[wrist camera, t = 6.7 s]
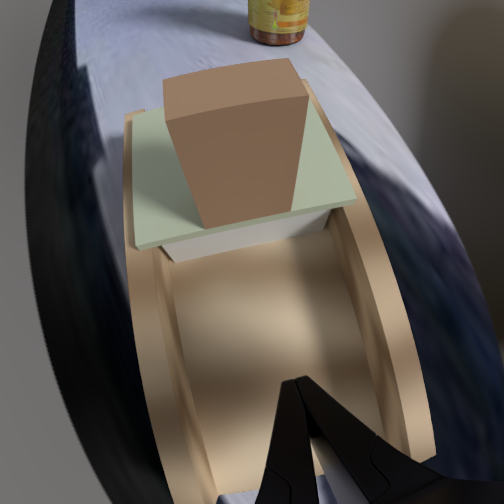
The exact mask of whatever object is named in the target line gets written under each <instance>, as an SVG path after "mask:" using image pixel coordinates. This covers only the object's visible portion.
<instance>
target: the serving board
mask: <svg viewBox="0 0 504 504" xmlns="http://www.w3.org/2000/svg"><path fill="white" fill-rule="evenodd" d="M301 81H302V83H303V85H304V86H305V88H306V90H307V92H308V94H309V98H310V100H311V101H312V103H313V105H314V107H315V109H316V111H317V113H318V115H319V117H320V119H321V121H322V123H323V125H324V127H325V129H326V131H327V133H328V135H329V137H330V139H331V141H332V143H333V145H334V147H335V150H336V152H337V154H338V156H339V158H340V160H341V163H342V165H343V167H344V169H345V171H346V174H347V176H348V178H349V181H350V183H351V185H352V188H353V190H354V192H355V195H356V197H357V200H356V202H355V203H354V205H348V206H343V207H338V208H333V209H331V211H330V214H329V216H328V218H327V221H326V223H325V226H324V228H323V230H322V231H318V232H314V233H309V234H304V235H300V236H295V237H291V238H286V239H281V240H277V241H272V242H268V243H263V244H258V245H254V246H249V247H245V248H240V249H236V250H231V251H227V252H222V253H217V254H213V255H208V256H204V257H199V258H195V259H190V260H186V261H181V262H177V263H175V262H174V261H173V260H172V258H171V257H170V256H169V254H168V253H167V252H166V251H165V249H164V248H163V247H162V245H161V246H157V247H153V248H149V249H144V250H139V249H138V248H137V247H136V246H135V232H134V214H133V189H132V125H133V115H136V114H140V113H143V112H145V109H142V110H138V111H135V112H132V113H128V114H125V124H124V147H123V213H124V237H125V253H126V267H127V278H128V288H129V298H130V307H131V315H132V322H133V330H134V337H135V343H136V350H137V356H138V362H139V367H140V373H141V378H142V383H143V388H144V393H145V398H146V403H147V407H148V412H149V416H150V420H151V425H152V429H153V433H154V437H155V441H156V444H157V448H158V452H159V455H160V459H161V462H162V466H163V469H164V473H165V476H166V479H167V482H168V486H169V489H170V492H171V495H172V498H173V501H174V504H216V501H217V498H218V495H223V494H231V493H239V492H245V491H251V490H257V489H260V486H261V482H262V478H263V474H264V469H265V467H266V466H265V465H266V460H267V455H268V450H269V445H270V440H271V435H272V430H273V425H274V419H275V414H276V408H277V403H278V397H279V392H280V386H281V382H282V381H284V380H288V379H294V380H295V378H296V377H300V376H303V375H307V376H309V377H310V378H311V379H312V380H313V381H315V382H316V383H317V384H318V385H319V386H320V387H321V388H323V389H324V390H325V391H326V392H327V393H328V394H329V395H331V396H332V397H333V398H334V399H335V400H336V401H338V402H339V403H340V404H341V405H342V406H344V407H345V408H346V409H347V410H348V411H349V412H351V413H352V414H353V415H354V416H355V417H357V418H358V419H359V420H360V421H361V422H363V423H364V424H365V425H366V426H368V427H369V428H370V429H371V430H372V431H374V432H375V433H376V435H379V436H380V437H381V438H382V439H384V440H385V441H386V442H388V443H389V444H390V445H392V446H393V447H394V448H396V449H397V450H399V451H400V452H402V453H404V454H405V455H407V456H408V457H410V458H412V459H414V460H415V461H417V462H419V463H421V462H423V461H425V460H427V459H428V458H430V457H432V456H434V455H436V450H435V442H434V436H433V429H432V423H431V417H430V411H429V406H428V400H427V395H426V390H425V386H424V381H423V376H422V372H421V368H420V363H419V359H418V355H417V351H416V347H415V343H414V339H413V336H412V332H411V328H410V325H409V321H408V318H407V314H406V311H405V307H404V304H403V301H402V298H401V294H400V291H399V288H398V285H397V282H396V279H395V276H394V273H393V270H392V267H391V264H390V261H389V258H388V256H387V253H386V250H385V247H384V245H383V242H382V239H381V237H380V234H379V231H378V229H377V226H376V224H375V221H374V219H373V216H372V214H371V211H370V209H369V206H368V204H367V201H366V199H365V197H364V194H363V192H362V190H361V187H360V185H359V183H358V181H357V178H356V176H355V174H354V172H353V169H352V167H351V165H350V163H349V161H348V159H347V157H346V154H345V152H344V150H343V148H342V146H341V144H340V142H339V140H338V138H337V136H336V134H335V132H334V130H333V128H332V126H331V124H330V122H329V120H328V118H327V116H326V115H325V113H324V111H323V109H322V107H321V105H320V103H319V102H318V100H317V98H316V96H315V94H314V93H313V91H312V89H311V87H310V85H309V84H308V82H307V80H306V79H301ZM311 449H312V455H313V462H314V469H315V476H319V475H322V474H325V473H324V471H323V469H322V467H321V465H320V462H319V460H318V458H317V456H316V454H315V451H314V449H313V447H312V445H311Z"/></svg>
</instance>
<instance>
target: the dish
mask: <svg viewBox="0 0 504 504" xmlns="http://www.w3.org/2000/svg"><path fill="white" fill-rule="evenodd" d="M330 211H331V209H328V210H323V211H318V212H313V213H308V214H303V215H298V216H293V217H289V218H284V219H279V220H274V221H269V222H265V223H260V224H255V225H251V226H246V227H241V228H237V229H232V230H228V231H223V232H218V233H214V234H210V235H205V236H201V237H196V238H192V239H187V240H183V241H179V242H174V243H170V244H166V245H162V247H163V248H164V249H165V251H166V252H167V253H168V254H169V256H170V257H171V258H172V260H173V261H174V262H175V263H177V262H181V261H186V260H190V259H195V258H199V257H204V256H208V255H213V254H217V253H222V252H227V251H231V250H236V249H240V248H245V247H249V246H254V245H258V244H263V243H268V242H272V241H277V240H281V239H286V238H291V237H295V236H300V235H304V234H309V233H314V232H318V231H322V230H323V228H324V226H325V223H326V221H327V218H328V216H329V214H330Z"/></svg>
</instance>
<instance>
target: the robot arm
mask: <svg viewBox="0 0 504 504" xmlns="http://www.w3.org/2000/svg"><path fill="white" fill-rule="evenodd" d="M311 445H312V447H313V449H314V451H315V454H316V456H317V458H318V460H319V462H320V465H321V467H322V469H323V471H324V473H325V476H326V478H327V480H328V482H329V484H330V487H331V489H332V491H333V493H334V495H335V497H336V500H337V502H338V504H504V481H503V482H497V481H473V480H460V479H453V478H449V477H446V476H444V475H441V474H439V473H437V472H435V471H434V470H432V469H430V468H428V467H426V466H424V465H423V464H421V463H419V462H417V461H415V460H414V459H412V458H410V457H408V456H407V455H405V454H404V453H402V452H400V451H399V450H397V449H396V448H394V447H393V446H392V445H390V444H389V443H388V442H386V441H385V440H384V439H382V438H381V437H380V436H379V435H376V433H375V432H374V431H372V430H371V429H370V428H369V427H368V426H366V425H365V424H364V423H363V422H361V421H360V420H359V419H358V418H357V417H355V416H354V415H353V414H352V413H351V412H349V411H348V410H347V409H346V408H345V407H344V406H342V405H341V404H340V403H339V402H338V401H336V400H335V399H334V398H333V397H332V396H331V395H329V394H328V393H327V392H326V391H325V390H324V389H323V388H321V387H320V386H319V385H318V384H317V383H316V382H315V381H313V380H312V379H311V378H310V377H309V376H307V375H303V376H300V377H296V378H295V380H294V379H288V380H284V381H282V382H281V386H280V392H279V397H278V403H277V408H276V414H275V419H274V425H273V430H272V435H271V440H270V445H269V450H268V455H267V460H266V465H265V466H266V467H265V469H264V474H263V478H262V482H261V486H260V490H259V493H258V496H257V498H256V501H255V504H319V498H318V490H317V483H316V476H315V469H314V462H313V455H312V449H311Z"/></svg>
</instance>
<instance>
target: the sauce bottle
mask: <svg viewBox="0 0 504 504" xmlns="http://www.w3.org/2000/svg"><path fill="white" fill-rule="evenodd" d="M309 2H310V0H248V22H249V24H250V33H251V36H252V37H253V38H254V39H255V40H257V41H259V42H263V43H266V44H269V45H288V44H293V43H297V42H299V41H300V40H301V39H302V38H303V35H304V32H305V28H306V27H307V21H308V12H309Z"/></svg>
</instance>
